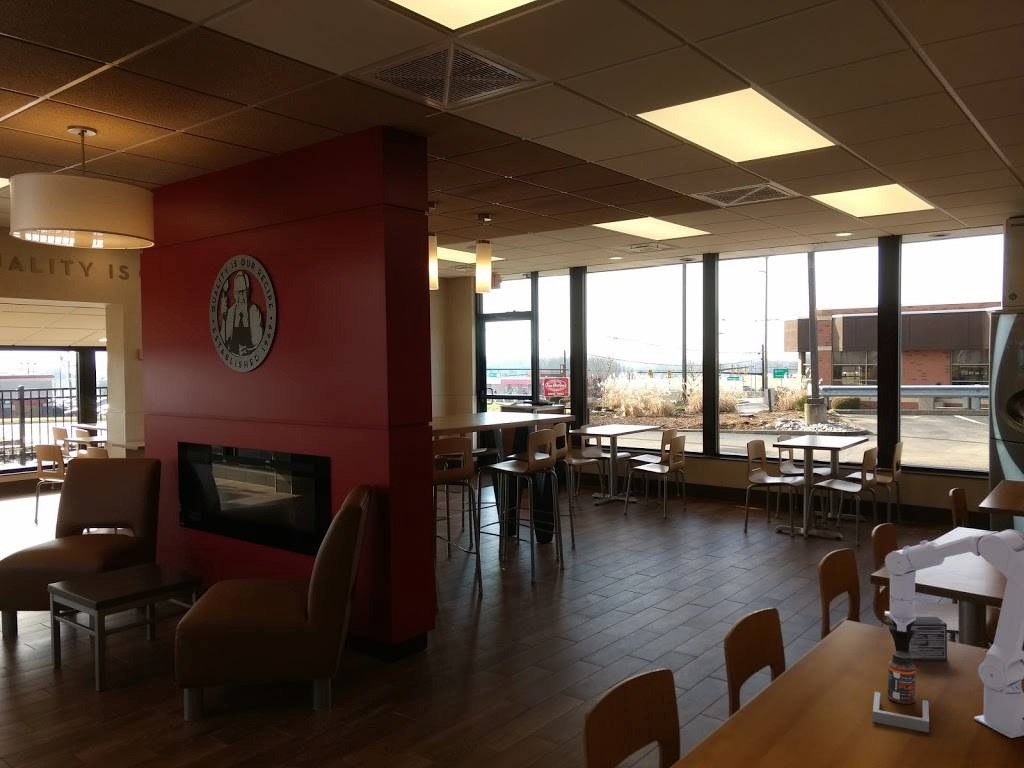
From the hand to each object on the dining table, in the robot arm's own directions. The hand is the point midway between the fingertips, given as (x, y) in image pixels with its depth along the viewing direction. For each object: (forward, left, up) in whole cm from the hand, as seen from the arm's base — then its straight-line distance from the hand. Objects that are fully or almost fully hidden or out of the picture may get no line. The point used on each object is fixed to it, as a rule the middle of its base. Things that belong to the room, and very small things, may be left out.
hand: (902, 650), depth 194 cm
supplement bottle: (-6, +6, -10) cm, 12 cm away
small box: (+13, -20, -10) cm, 26 cm away
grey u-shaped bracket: (-12, +12, -9) cm, 20 cm away
